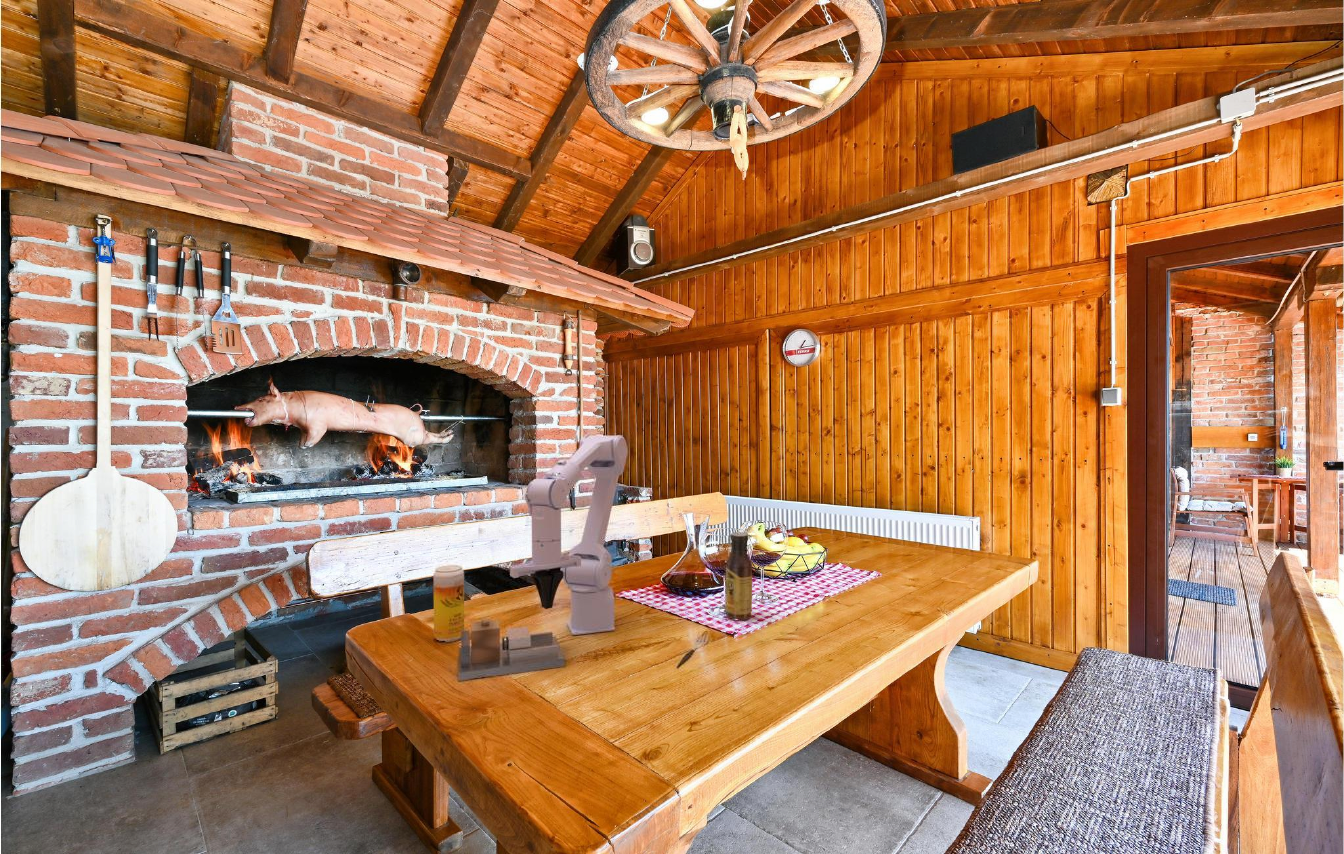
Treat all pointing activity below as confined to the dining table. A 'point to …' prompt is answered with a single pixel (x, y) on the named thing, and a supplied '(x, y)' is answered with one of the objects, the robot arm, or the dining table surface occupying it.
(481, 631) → the block
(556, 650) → the press frame
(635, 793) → the dining table surface
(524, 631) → the ram
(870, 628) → the dining table surface
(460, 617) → the beer can
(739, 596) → the sauce bottle
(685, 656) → the fork
